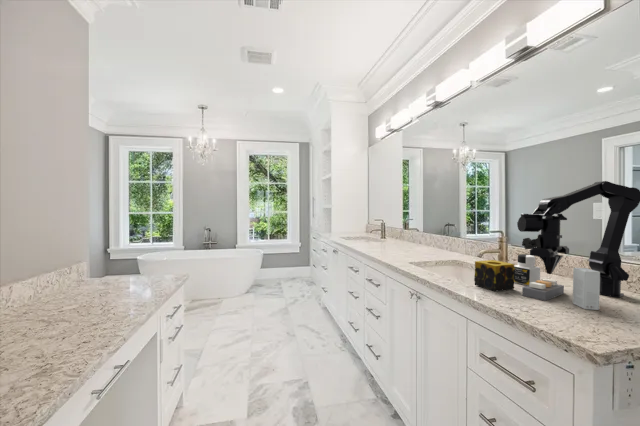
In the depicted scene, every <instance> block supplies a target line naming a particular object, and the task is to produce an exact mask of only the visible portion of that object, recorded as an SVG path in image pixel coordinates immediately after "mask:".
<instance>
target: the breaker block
mask: <svg viewBox="0 0 640 426" xmlns="http://www.w3.org/2000/svg"><path fill="white" fill-rule="evenodd" d="M564 286H565V285H563V284H559V283H557V285H552V286H551V287H546V288H545V289H538V288H533V287H529V285H528V286H527V285H524V286H523V287H522V290H521V291H522V292H521V293H522V295H521V296H523V297H527V298H531V299H535V300H540V301H545V302H546V301H549V300H551V299H554V298H556V297H558V296H561V295H563V294H564V293H565V287H564Z"/></svg>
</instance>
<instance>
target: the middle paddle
mask: <svg viewBox="0 0 640 426" xmlns="http://www.w3.org/2000/svg"><path fill="white" fill-rule="evenodd" d="M536 283H541V284H546V287H551V286H552V282H546V281H542V279H540V280H538V281H536Z"/></svg>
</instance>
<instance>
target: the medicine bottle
mask: <svg viewBox="0 0 640 426" xmlns="http://www.w3.org/2000/svg"><path fill="white" fill-rule="evenodd" d="M538 280H541V267H539V266H536V256H532V255H530V254H523V253H522V254H518V255H517V264H514V284H519V285H524V286H528V285H529V283H531V282H536V281H538Z"/></svg>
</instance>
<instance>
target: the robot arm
mask: <svg viewBox="0 0 640 426" xmlns="http://www.w3.org/2000/svg"><path fill="white" fill-rule="evenodd" d="M598 195H600V196H601V197H603V198H605V199H608V201H607V204H608V207H609V209H610V213H609V215H608V219H607V222H606V227H605V229H604V230H605V231H604V234H603V236H602V241H601V244H600V247H599V248H598V249H597V250H596V251H594V250H591V251H590V254H589V258H587V262H588V267H589V269H591V270H595V271H598V272H600V295H604V296H607V297H614V298H621V297H623V296H625V294H624V293H622V292H621V290H622V287H621V286H622V285H621V284H622V282H625V281H628V279H629V278H630V274H629V273H628V272H627V271H625V269H624V268H622V258H621V256H620V252H619V251H620V247H621V244H622V240H623V237H624V234H625V231H626V227H627V223H628V220H629V217H630V214H631V213H632V212H634V210H635V209H637V207H638V206H639V204H640V189H639V188H638V187H629V186H627V185H626V186H625V185H623V184H622V185H621V184H618V183H614V182H611V181H609V180H608V181H607V180H604V181H603V180H602V181H596V182H594V183H592V184H589V185H587V186H583V187H581V188H579V189H576V190H573V191H571V192H568V193H566V194H563V195H559V196H551V197H547V198H542V200H540V201H539V202H538V206H537V207H536V208H535V210H534V211H533V212H532V213H530V214H529V213H521V214H520V217H519V218H518V220H517V222H516V223H517V228H518V230H519V232H524V233H525V232H526V233H529V232H530V233H538V232H540V234H537V238H530V237H524V238H523V239H522V241H521V246H522V247H524V249H525V250H529V255H532V256H535V257H539V258H540V259H541V260H542V262H543V265H544V267H545V271H546V274H547V275H551V274H553V272H554V270H555V269H556V267H557V266H558V263H559V262H560V261H561V259H562V258H563V257H564V255H562V254H565V255H568V254H570V248H569V247H568V246H567V245H561V239H563V235H562V234H561V221H567V220H568V218H567V217H566V216H564V215H563V212H565V211H566V210H568V209H569V208H570V207H571V206H573V205H575V204H577V203H580V202H582V201H585V200H587V199H590V198H594V197H596V196H598ZM559 253H560V254H561V255H560V254H559Z"/></svg>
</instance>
